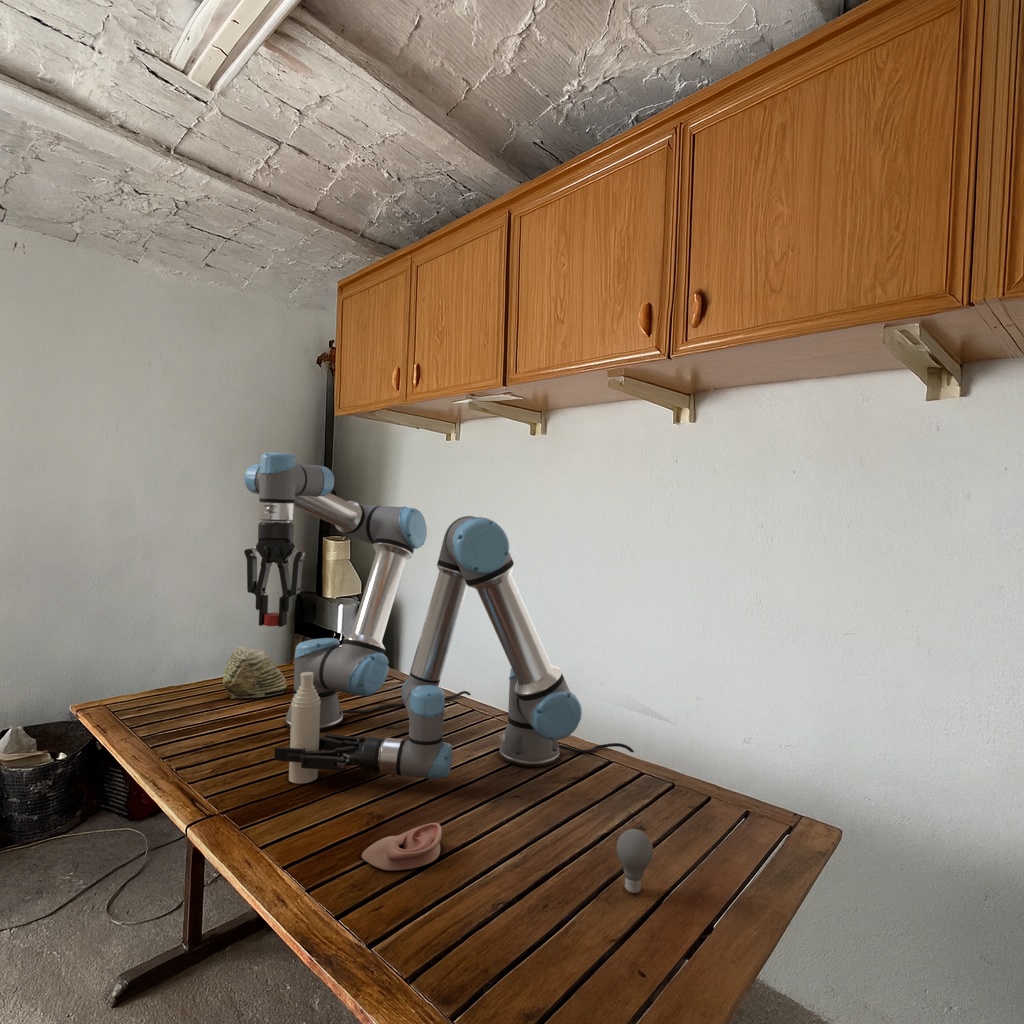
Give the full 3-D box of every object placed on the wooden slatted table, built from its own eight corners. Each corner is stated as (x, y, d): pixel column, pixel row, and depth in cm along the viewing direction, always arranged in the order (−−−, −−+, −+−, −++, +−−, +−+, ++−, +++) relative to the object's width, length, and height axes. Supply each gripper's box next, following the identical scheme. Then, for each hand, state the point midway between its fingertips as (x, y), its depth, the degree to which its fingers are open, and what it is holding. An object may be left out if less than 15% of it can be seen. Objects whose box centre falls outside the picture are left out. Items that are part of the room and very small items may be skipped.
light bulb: (610, 879, 108) (613, 822, 108) (644, 879, 109) (647, 822, 109) (619, 902, 102) (622, 840, 102) (655, 901, 103) (658, 840, 103)
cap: (274, 626, 141) (274, 616, 141) (260, 625, 142) (260, 614, 142) (285, 623, 144) (286, 613, 144) (271, 622, 146) (271, 612, 146)
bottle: (282, 778, 142) (286, 673, 141) (305, 769, 147) (309, 668, 146) (300, 786, 138) (304, 679, 138) (323, 776, 143) (327, 673, 143)
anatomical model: (354, 842, 109) (381, 811, 120) (353, 865, 109) (380, 831, 121) (427, 854, 107) (448, 821, 118) (426, 877, 107) (447, 842, 118)
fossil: (218, 695, 195) (220, 647, 195) (278, 685, 208) (279, 640, 207) (228, 703, 189) (230, 653, 188) (289, 692, 201) (290, 645, 201)
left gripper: (231, 520, 139) (228, 626, 140) (306, 524, 138) (303, 630, 139) (247, 519, 147) (244, 619, 147) (318, 522, 146) (315, 623, 147)
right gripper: (367, 792, 131) (260, 782, 133) (393, 755, 150) (300, 747, 153) (368, 756, 131) (262, 747, 133) (395, 724, 150) (301, 716, 152)
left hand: (272, 624), depth 143 cm, fingers closed on cap, 4 cm apart
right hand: (282, 747), depth 143 cm, fingers closed on bottle, 6 cm apart
